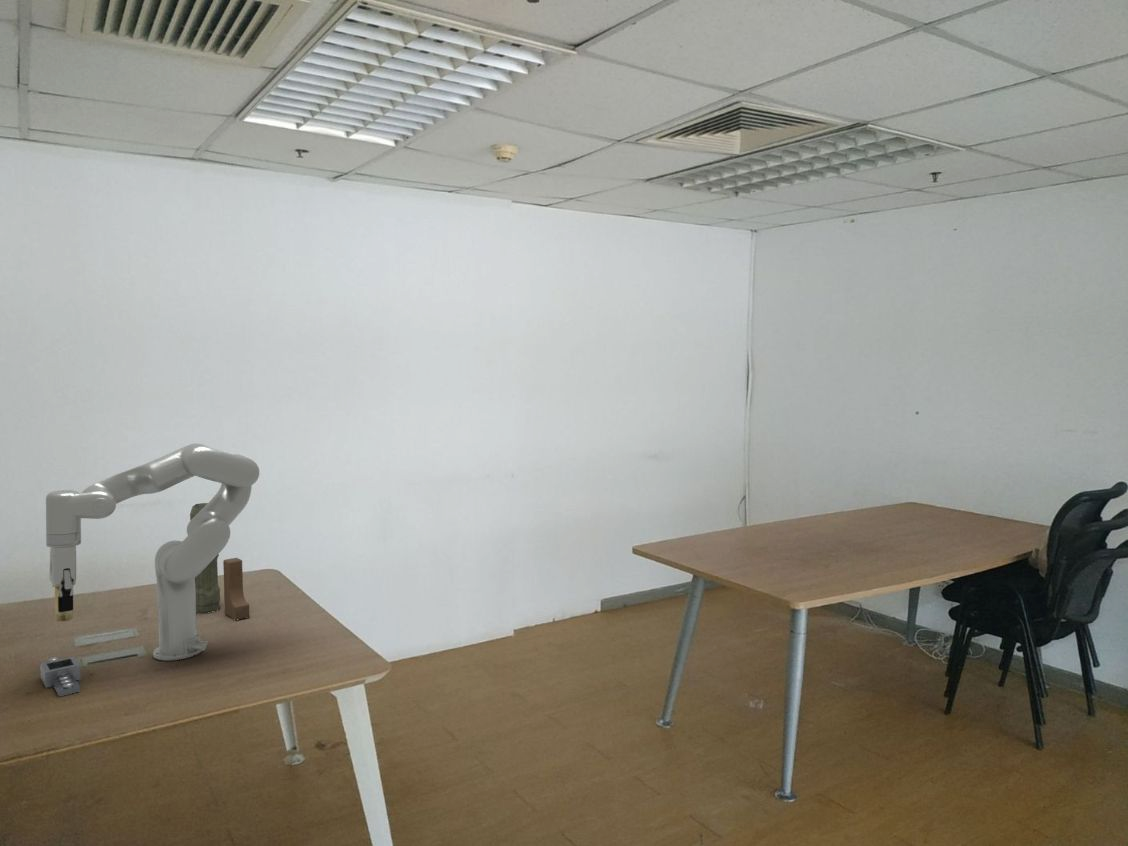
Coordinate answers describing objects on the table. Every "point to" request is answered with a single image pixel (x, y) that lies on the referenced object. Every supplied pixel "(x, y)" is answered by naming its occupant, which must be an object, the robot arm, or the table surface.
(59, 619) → the pin
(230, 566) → the wooden block
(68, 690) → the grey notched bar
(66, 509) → the robot arm
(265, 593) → the table surface
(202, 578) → the thermos
